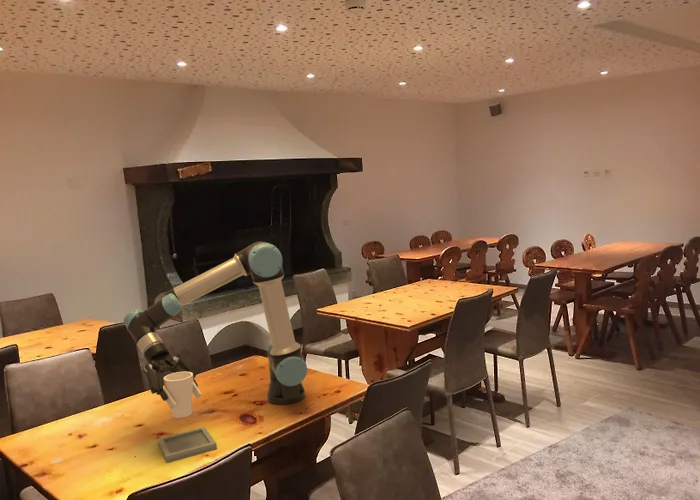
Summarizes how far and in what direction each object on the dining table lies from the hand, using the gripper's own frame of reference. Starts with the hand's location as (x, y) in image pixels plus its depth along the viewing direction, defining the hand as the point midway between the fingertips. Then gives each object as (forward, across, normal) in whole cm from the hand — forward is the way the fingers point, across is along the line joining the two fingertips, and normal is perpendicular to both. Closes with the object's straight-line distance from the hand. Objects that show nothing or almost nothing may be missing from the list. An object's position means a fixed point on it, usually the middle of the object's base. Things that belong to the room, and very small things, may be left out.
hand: (186, 401), depth 187 cm
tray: (+10, 0, -14) cm, 17 cm away
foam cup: (+1, 0, -6) cm, 6 cm away
